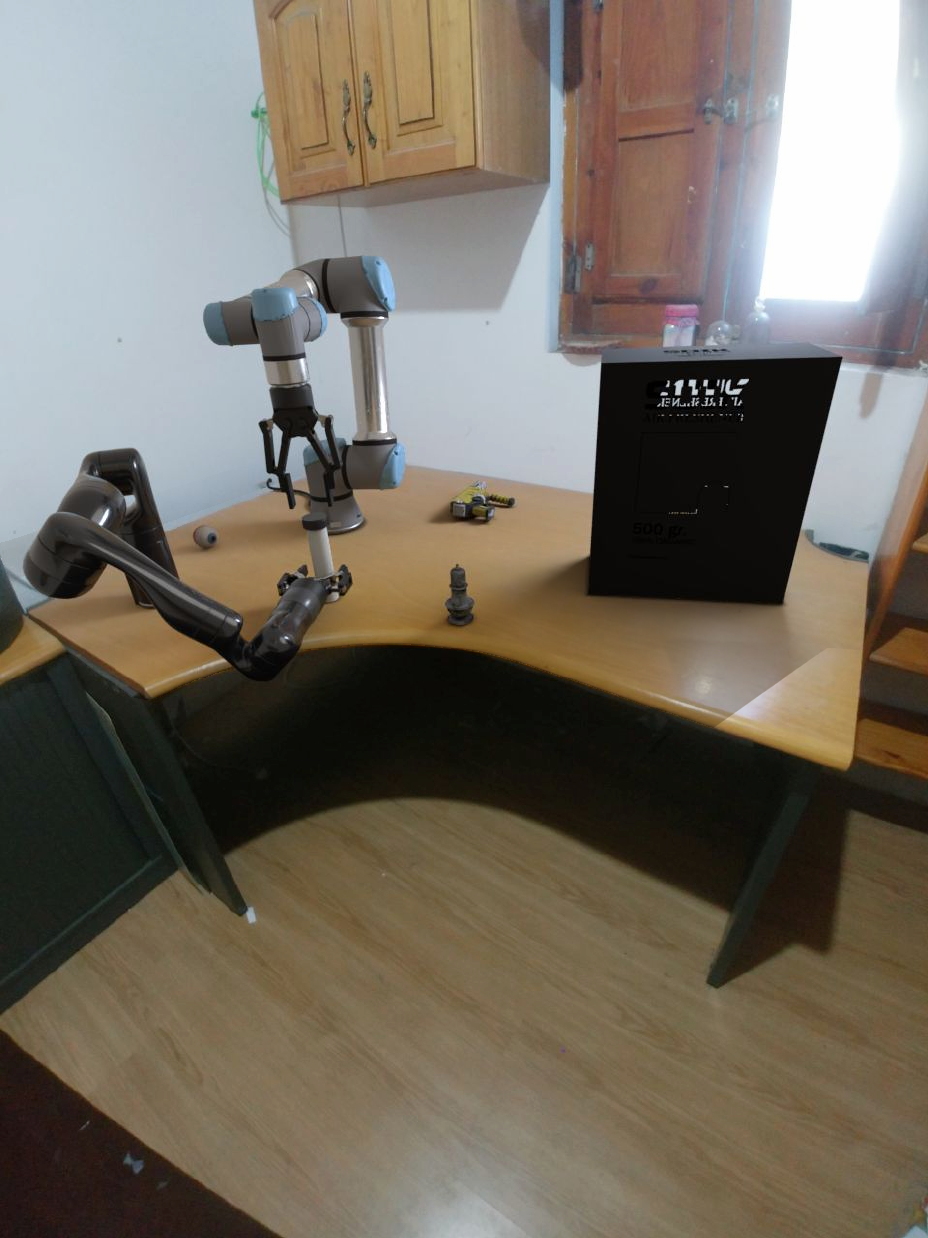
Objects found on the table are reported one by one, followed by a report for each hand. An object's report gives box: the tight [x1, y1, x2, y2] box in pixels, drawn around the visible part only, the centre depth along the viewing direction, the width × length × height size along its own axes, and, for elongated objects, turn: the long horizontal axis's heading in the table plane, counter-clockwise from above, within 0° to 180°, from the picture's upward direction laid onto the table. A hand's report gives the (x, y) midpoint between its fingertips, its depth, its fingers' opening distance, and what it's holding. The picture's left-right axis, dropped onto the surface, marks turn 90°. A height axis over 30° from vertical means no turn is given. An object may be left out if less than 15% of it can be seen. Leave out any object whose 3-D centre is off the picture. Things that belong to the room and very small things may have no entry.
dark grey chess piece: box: [444, 563, 475, 626], centre depth 117 cm, size 6×6×12 cm
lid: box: [301, 512, 328, 531], centre depth 122 cm, size 5×5×2 cm
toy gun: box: [449, 480, 516, 522], centre depth 174 cm, size 5×24×15 cm
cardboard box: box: [587, 342, 844, 605], centre depth 120 cm, size 38×20×45 cm, turn 78°
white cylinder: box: [305, 528, 340, 604], centre depth 126 cm, size 4×4×18 cm
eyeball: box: [192, 524, 219, 549], centre depth 158 cm, size 6×6×6 cm
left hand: (325, 568), depth 129 cm, fingers open, 8 cm apart
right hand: (312, 505), depth 121 cm, fingers open, 7 cm apart
